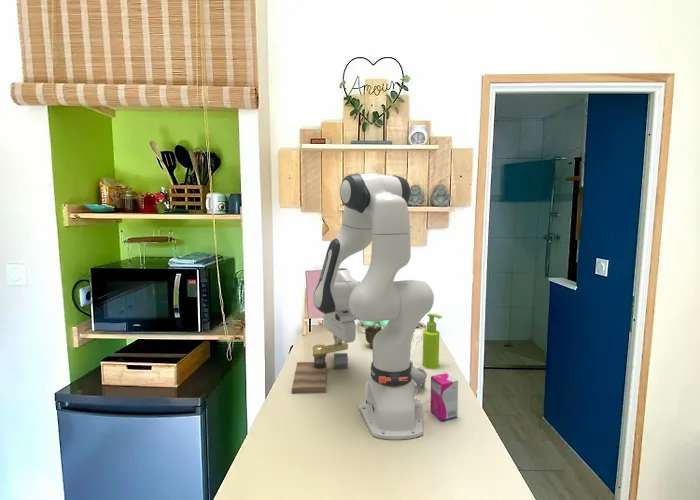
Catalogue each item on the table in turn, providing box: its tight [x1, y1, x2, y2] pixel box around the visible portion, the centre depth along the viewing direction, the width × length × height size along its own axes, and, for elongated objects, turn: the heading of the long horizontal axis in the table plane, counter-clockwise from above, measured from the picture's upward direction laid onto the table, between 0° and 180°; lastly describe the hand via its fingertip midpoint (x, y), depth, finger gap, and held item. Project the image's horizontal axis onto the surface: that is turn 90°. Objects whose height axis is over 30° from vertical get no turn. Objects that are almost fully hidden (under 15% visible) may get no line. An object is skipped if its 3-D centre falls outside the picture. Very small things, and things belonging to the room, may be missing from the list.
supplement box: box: [430, 372, 459, 423], centre depth 116 cm, size 6×6×12 cm
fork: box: [410, 333, 422, 354], centre depth 173 cm, size 3×20×2 cm, turn 162°
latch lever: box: [312, 341, 349, 358], centre depth 147 cm, size 14×5×3 cm, turn 118°
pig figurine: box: [410, 359, 427, 394], centre depth 134 cm, size 5×13×11 cm, turn 54°
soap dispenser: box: [422, 313, 443, 370], centre depth 150 cm, size 6×7×20 cm
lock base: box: [291, 352, 349, 394], centre depth 141 cm, size 23×19×6 cm
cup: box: [364, 325, 383, 349], centre depth 169 cm, size 8×7×8 cm
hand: (338, 346), depth 151 cm, fingers closed
